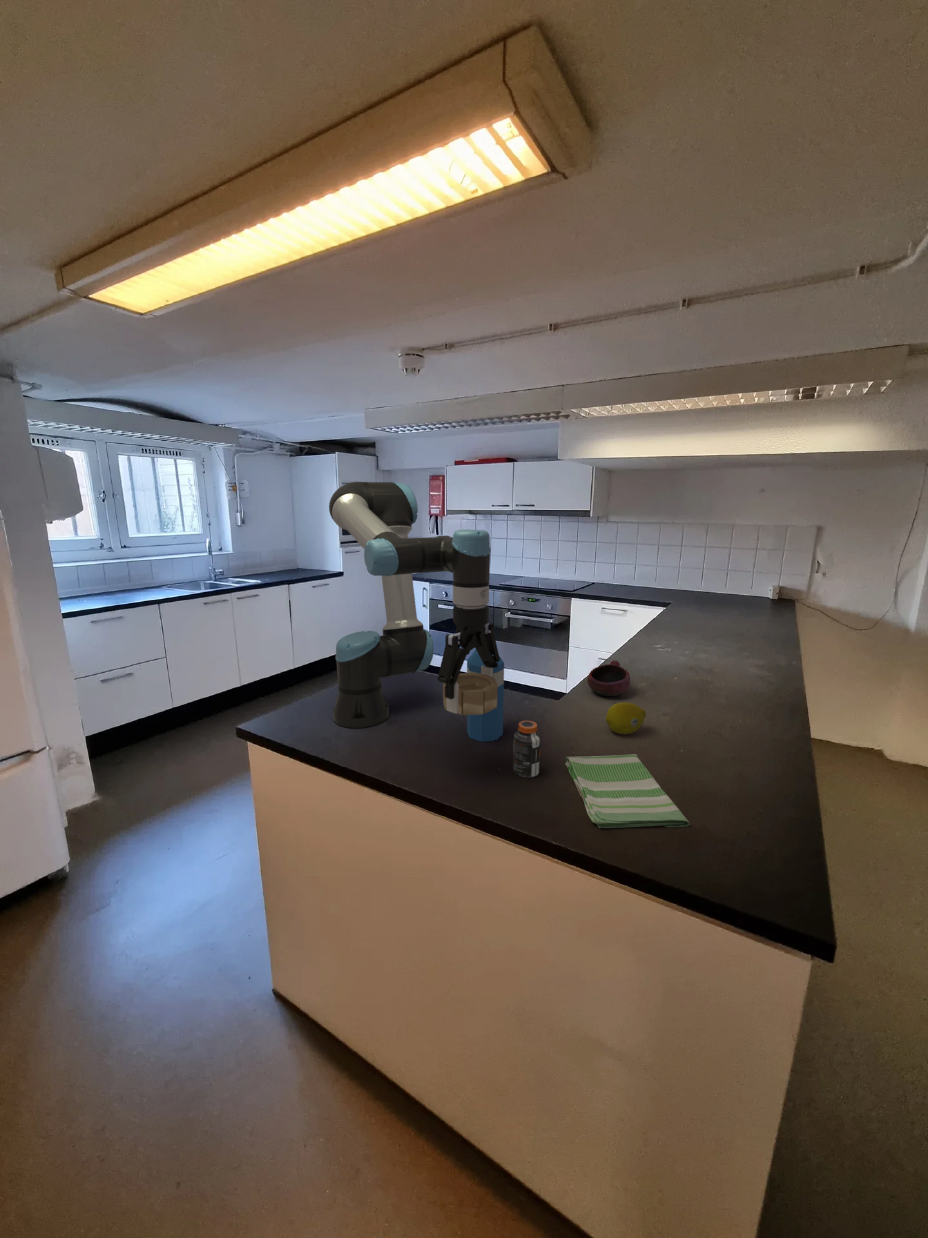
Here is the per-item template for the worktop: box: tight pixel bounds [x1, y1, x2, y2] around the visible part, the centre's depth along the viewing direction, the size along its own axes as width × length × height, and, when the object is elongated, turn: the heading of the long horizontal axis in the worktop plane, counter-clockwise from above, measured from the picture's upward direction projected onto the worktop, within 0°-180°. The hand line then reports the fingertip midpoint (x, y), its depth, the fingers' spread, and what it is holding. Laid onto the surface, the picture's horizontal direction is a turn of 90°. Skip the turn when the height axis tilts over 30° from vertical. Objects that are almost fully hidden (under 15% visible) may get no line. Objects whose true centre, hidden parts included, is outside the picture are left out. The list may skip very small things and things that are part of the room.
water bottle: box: [466, 648, 505, 743], centre depth 122 cm, size 9×9×25 cm
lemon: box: [605, 701, 647, 735], centre depth 125 cm, size 11×8×8 cm
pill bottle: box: [512, 720, 542, 778], centre depth 106 cm, size 6×6×11 cm
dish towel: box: [564, 753, 691, 829], centre depth 100 cm, size 18×23×3 cm
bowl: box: [586, 660, 631, 697], centre depth 152 cm, size 16×13×8 cm
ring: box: [442, 672, 498, 716], centre depth 106 cm, size 11×11×5 cm
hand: (470, 702), depth 106 cm, fingers closed on ring, 11 cm apart
